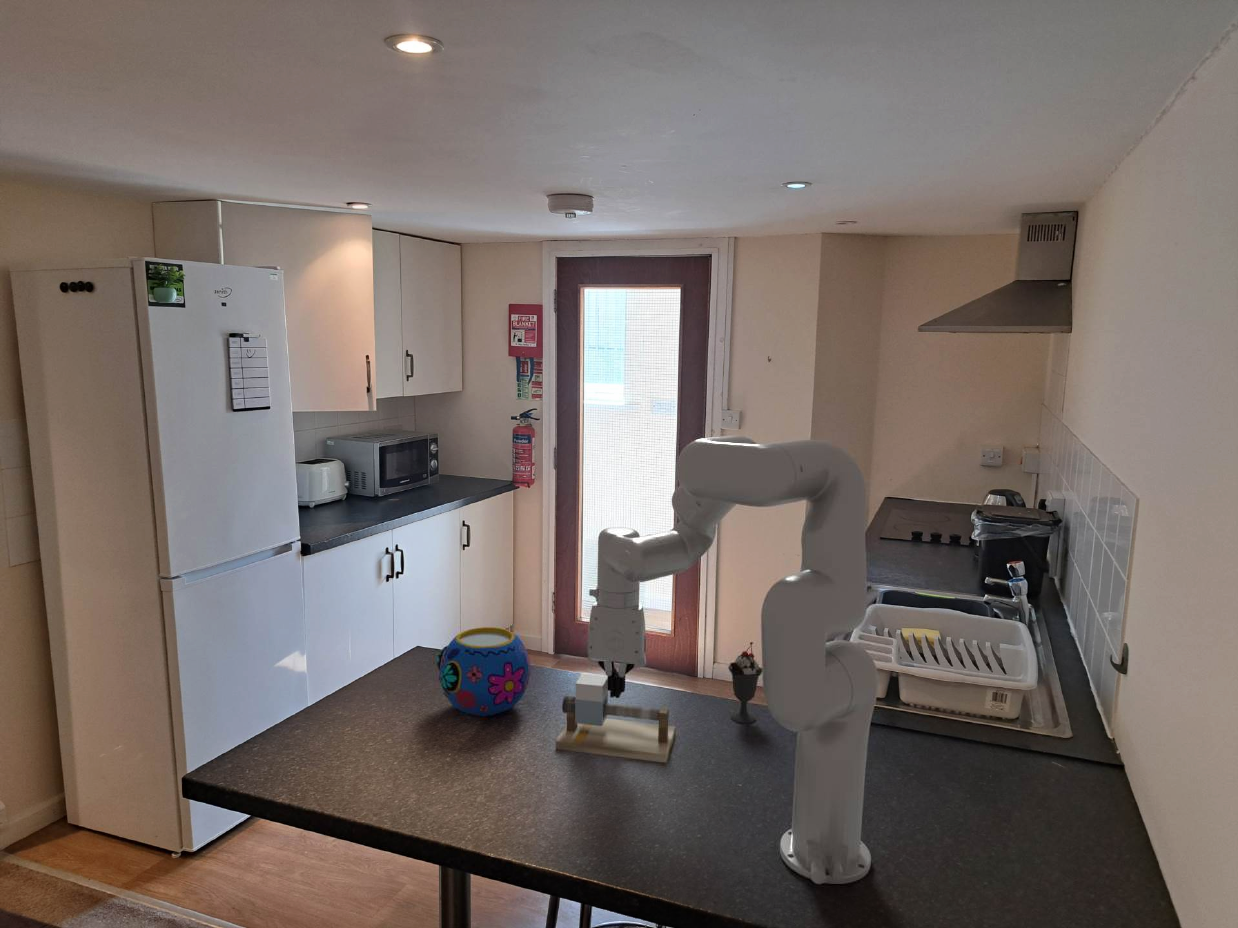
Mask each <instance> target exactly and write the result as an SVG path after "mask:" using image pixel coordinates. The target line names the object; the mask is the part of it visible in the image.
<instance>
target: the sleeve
mask: <svg viewBox="0 0 1238 928" xmlns="http://www.w3.org/2000/svg"><path fill="white" fill-rule="evenodd" d="M607 682H608V676H607V675H599V674H591V673H581V675H580V676H579V678H578V679H577V680H576V681H575V696H574V697H575V723H578V724H587V725H595V726H602V725H603V723H604V721H605V719H606V718H607V717H608V715H605V714H603V704H604V703H609V691H608V690H607Z"/></svg>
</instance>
